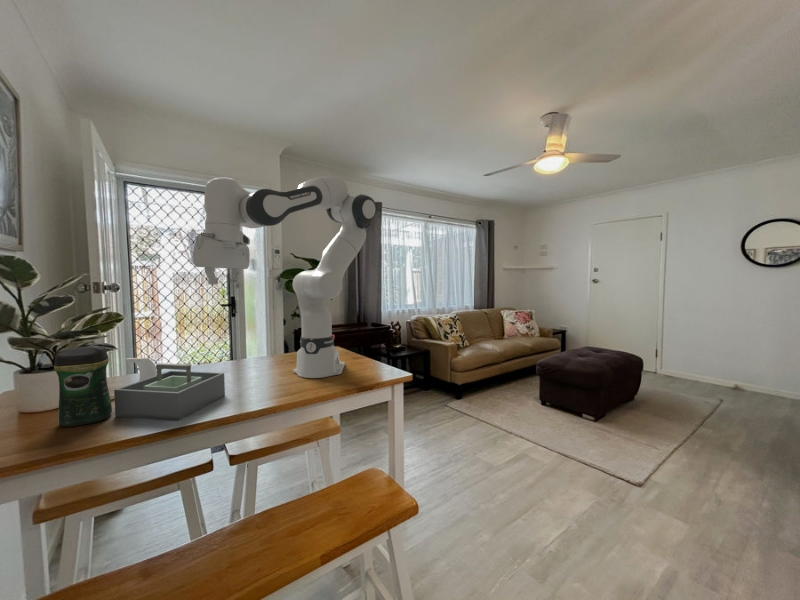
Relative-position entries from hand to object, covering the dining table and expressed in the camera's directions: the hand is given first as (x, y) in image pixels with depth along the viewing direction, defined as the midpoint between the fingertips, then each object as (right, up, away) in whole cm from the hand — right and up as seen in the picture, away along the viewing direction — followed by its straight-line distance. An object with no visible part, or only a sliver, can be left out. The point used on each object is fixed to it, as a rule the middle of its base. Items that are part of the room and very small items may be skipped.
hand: (224, 284), depth 96 cm
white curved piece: (-28, -34, +6) cm, 44 cm away
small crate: (-13, -33, -2) cm, 36 cm away
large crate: (-13, -34, -2) cm, 37 cm away
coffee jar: (-28, -35, -12) cm, 47 cm away
